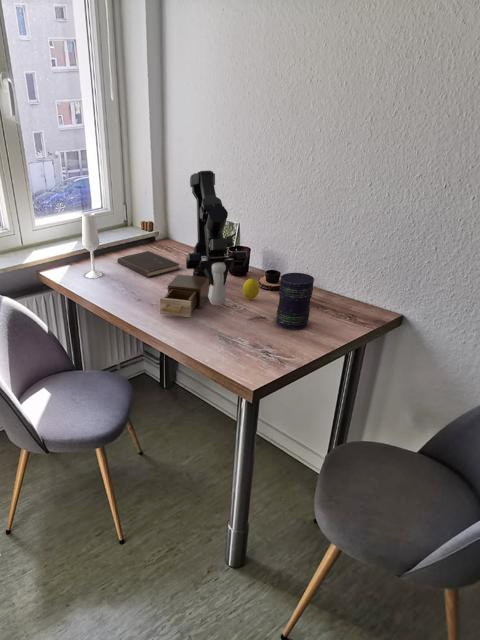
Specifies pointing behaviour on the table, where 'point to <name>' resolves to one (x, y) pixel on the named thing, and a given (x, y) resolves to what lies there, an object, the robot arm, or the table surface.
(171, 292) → the drawer
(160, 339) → the table surface
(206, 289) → the cabinet
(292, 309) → the storage jar
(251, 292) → the lemon
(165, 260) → the hardcover book
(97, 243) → the champagne flute
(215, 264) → the white bowling pin
